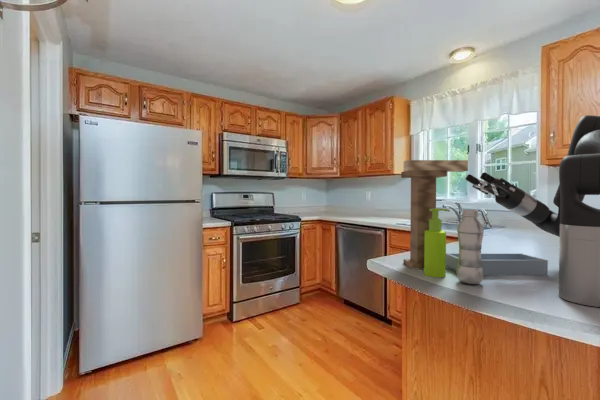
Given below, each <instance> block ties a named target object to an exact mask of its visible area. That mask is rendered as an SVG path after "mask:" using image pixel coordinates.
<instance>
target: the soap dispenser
mask: <svg viewBox="0 0 600 400" xmlns="http://www.w3.org/2000/svg"><path fill="white" fill-rule="evenodd" d="M430 211H432V218H431V219H430V220H429V230H426V231H425V244H424V269H423V270H424V271H423V273H424V275H425V276H427V277H431V278H445V277H446V276H447V274H446V273H447V271H446V269H447V267H446V253H447V232H446V231H444V230H442V225H443V224H442V219H440V218H439V212H440V211H441V212H442V211H444V212H450V211H451V210H450V209H447V208H440V207H436V208H434V209H430Z"/></svg>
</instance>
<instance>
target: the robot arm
mask: <svg viewBox="0 0 600 400" xmlns="http://www.w3.org/2000/svg"><path fill="white" fill-rule="evenodd" d="M558 180H559V184H558V187H557V189H556V193H555V195H554V196H553V205H555V206H556V207H557V208H558V210H557V213H556V212H555V211H552V210H550V207H548V206H547V205H546V204H545V203H543V202H542V201H540V200H538V199H537V198H535V197H534V196H533V195H531V194H530V193H528V192H526V191H525V190H523V189H521V188H520V187H518V186H516V185H514V184H513V183H511V182H509V181H508V180H505V179H504V178H503V177H501V178H498V177H494V176H493V175H491V174H489V173H487V172H485V171H484V172H482V173H481V175H480V177H479V178H478V177H476V176H473V174H467V175H466V177H465V181H467V182H469V183H470V184H472V188H473V189H475V190H477V191H479V192H481V193H483V194H485V195H491V196H494V197H495V198H494V199H495V203H496V204H498V205H500V206H501V207H503V208H504V209H507V210H509V211H510V212H512V213H514V214H517V215H518V216H520V217H522V218H523V219H526V220H527V221H528V222H531V223H532V224H534V225H535V226H536V227H537V228H539V229H540V230H542V231H544V232H546V233H549V234H552V235H554V236H556V237H558V238H559V248H558V250H559V251H558V253H559V254H558V256H559V257H558V297H560V298H561V299H563V300H566V301H569V302H570V303H573V304H574V303H576V304H578V305H584V306H589V307H595V308H600V208H597V207H593V206H590V205H588V204H586V203H585V202H583V201H584V199H585V196H599V195H600V115H590V114H589V115H586V114H585V115H584V116H581V118H580V119H579V120H578V121H577V124H576V126H575V128H574V131H573V134H572V137H571V139H570V144H569V147H568V151H567V155H566V156H564V157H563V158H562V159H561V161H560V163H559V168H558Z"/></svg>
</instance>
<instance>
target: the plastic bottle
mask: <svg viewBox="0 0 600 400" xmlns="http://www.w3.org/2000/svg"><path fill="white" fill-rule="evenodd" d="M462 217H463V219H462V220H461V221H460V222H459V224H458V225H457V226H456V233H457V238H458V239H457V240H458V253H459V259H458V265H457V271H456V272H455V273H456V278H457V279H458V281H459V282H461V283H465V284H469V285H478V284H479V285H480V284H481V283H482V282H483V280H484V276H485V275H483V268H482V261H481V253H482V243H483V238H484V231H485V230H484V226H483V224H482V223H481V222H480V220H479V219H478V217H479V210H478V209H462Z"/></svg>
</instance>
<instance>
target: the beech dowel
mask: <svg viewBox="0 0 600 400" xmlns="http://www.w3.org/2000/svg"><path fill="white" fill-rule="evenodd" d="M409 170H447V173H448V172H449V173H455V172H456V173H459V172H468V171H469V160H467V159H466V160H465V159H462V160H459V159H457V160H456V159H454V160H453V159H452V160H450V159H447V160H445V159H442V160H440V159H438V160H437V159H435V160H432V159H429V160H428V159H414V160H413V159H407V160H404V161H403V172H404V171H409Z"/></svg>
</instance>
